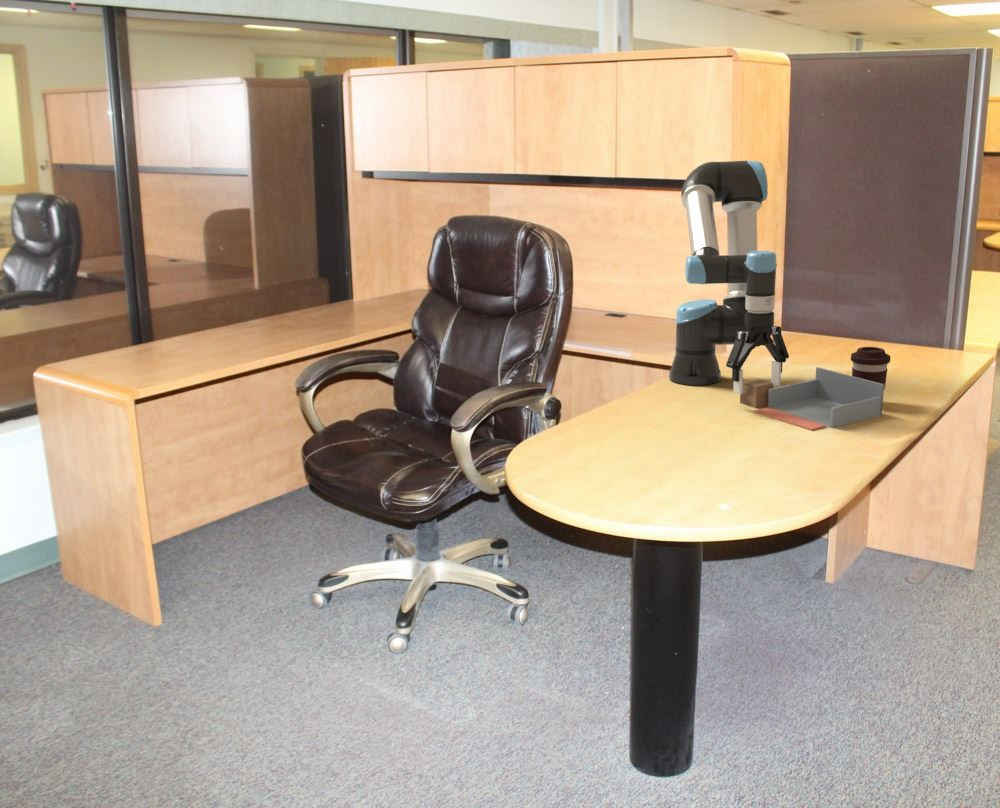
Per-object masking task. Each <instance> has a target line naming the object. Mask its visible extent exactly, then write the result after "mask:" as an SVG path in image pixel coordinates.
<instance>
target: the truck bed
mask: <svg viewBox="0 0 1000 808" xmlns="http://www.w3.org/2000/svg"><path fill="white" fill-rule="evenodd" d="M884 391H885V389H884V384H881V383H877V382H873V381H869V380H865V379H862V378H858V377H854V376H852V375H849V374H847V373H842V372H839V371H834V370H831V369H830V370H829V369H826V368H824V367H823V368H822V367H819V366H817V367H815V379H810V380H804V381H800V382H795V383H791V384H787V385H782V386H776V387H773V388H772V389H769V397H768V405H767V408H768V407H770V408H773V409H777V410H780V411H783V412H786V413H789V414H792V415H795V416H799V417H802V418H805V419H808V420H811V421H814V422H817V423H821V424H824V425H826V428H827V427H828V428H831V429H833V428H837V427H841V426H846V425H849V424H853V423H858V422H860V421H865V420H868V419H869V420H870V419H873V418H877V417H880V416H881V417H882V415H883V406H884V405H883V404H884V394H885V393H884Z"/></svg>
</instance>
